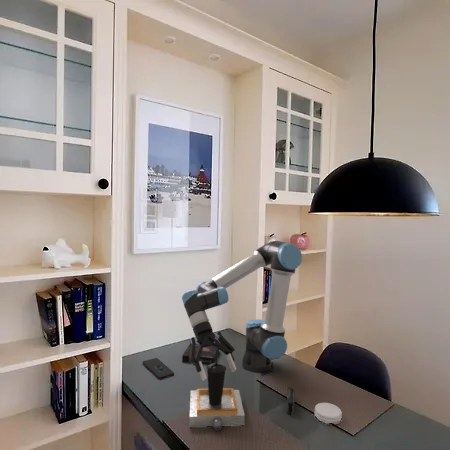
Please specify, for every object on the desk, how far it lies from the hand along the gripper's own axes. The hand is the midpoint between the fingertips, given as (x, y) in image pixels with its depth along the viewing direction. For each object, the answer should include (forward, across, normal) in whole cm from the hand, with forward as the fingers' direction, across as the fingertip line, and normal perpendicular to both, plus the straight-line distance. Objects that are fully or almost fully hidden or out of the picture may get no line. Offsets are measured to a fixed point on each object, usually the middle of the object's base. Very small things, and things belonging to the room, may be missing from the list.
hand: (220, 375), depth 131 cm
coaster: (+28, -35, +5) cm, 45 cm away
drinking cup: (+7, 0, -10) cm, 12 cm away
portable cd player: (-23, -21, -46) cm, 56 cm away
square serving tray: (+10, +1, -12) cm, 16 cm away
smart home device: (-22, +4, -45) cm, 50 cm away
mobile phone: (+19, -28, -4) cm, 34 cm away
